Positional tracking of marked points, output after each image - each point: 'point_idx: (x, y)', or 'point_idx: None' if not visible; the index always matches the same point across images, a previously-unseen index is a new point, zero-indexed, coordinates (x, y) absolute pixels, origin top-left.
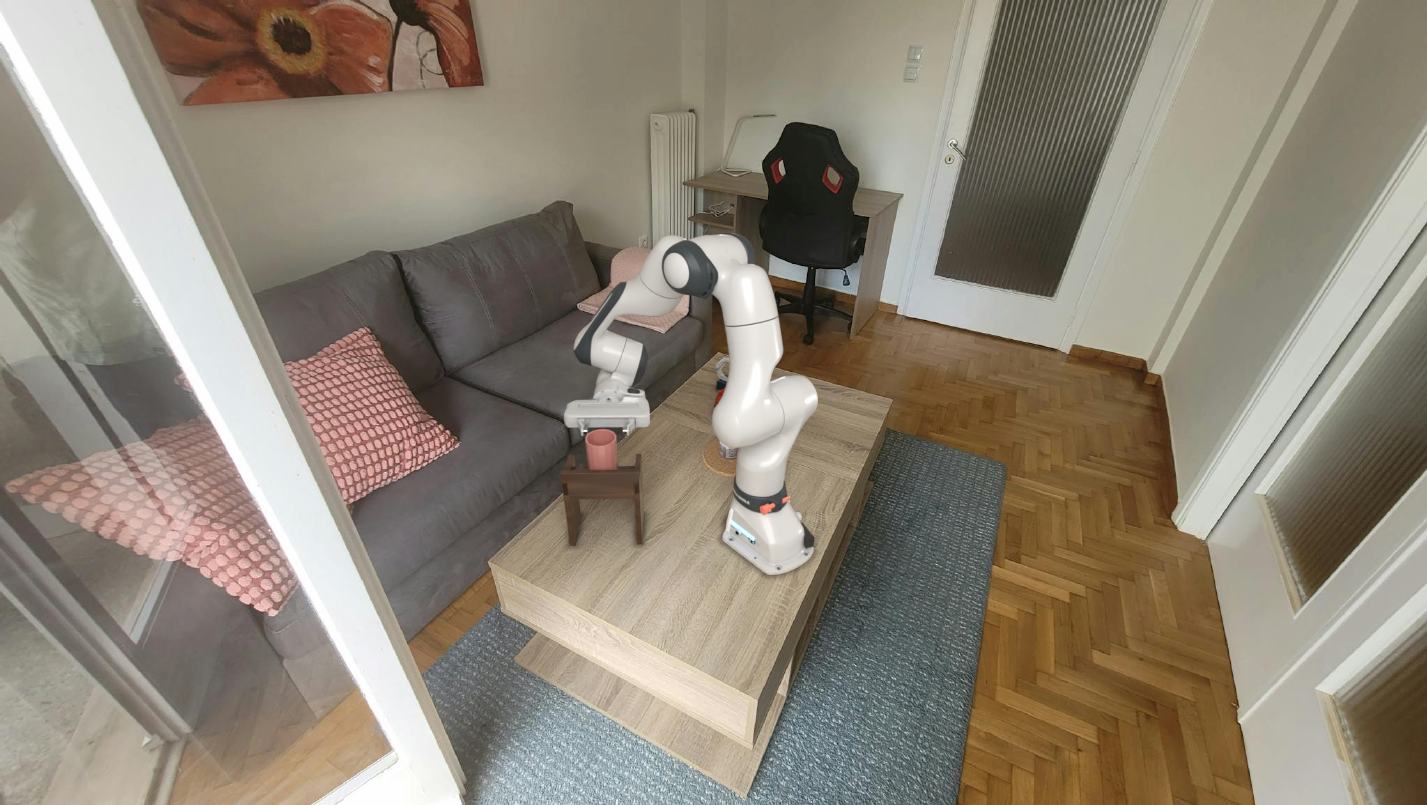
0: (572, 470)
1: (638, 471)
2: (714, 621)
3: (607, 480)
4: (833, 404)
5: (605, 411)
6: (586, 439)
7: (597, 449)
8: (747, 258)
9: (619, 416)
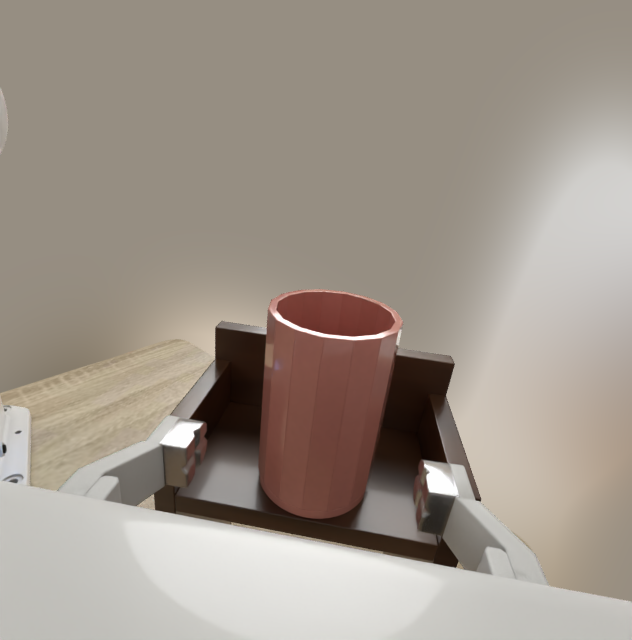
0: (418, 357)
1: (219, 323)
2: (171, 383)
3: None
4: None
5: (292, 607)
6: (395, 314)
7: (345, 303)
8: None
9: (172, 513)
